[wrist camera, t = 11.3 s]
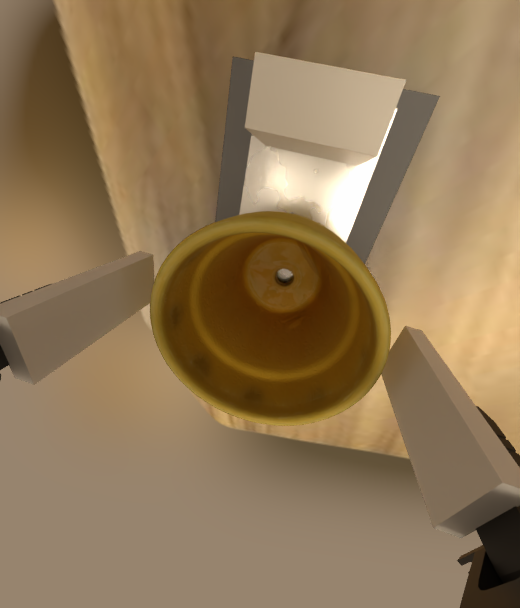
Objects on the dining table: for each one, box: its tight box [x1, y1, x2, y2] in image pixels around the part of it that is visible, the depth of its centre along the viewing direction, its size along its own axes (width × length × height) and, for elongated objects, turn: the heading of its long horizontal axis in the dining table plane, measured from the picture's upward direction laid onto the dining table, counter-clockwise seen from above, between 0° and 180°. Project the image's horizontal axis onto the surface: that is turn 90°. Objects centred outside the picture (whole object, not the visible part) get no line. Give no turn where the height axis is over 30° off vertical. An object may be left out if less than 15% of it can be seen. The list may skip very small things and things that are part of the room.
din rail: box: [239, 108, 398, 283], centre depth 19 cm, size 22×8×1 cm, turn 168°
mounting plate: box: [215, 57, 440, 264], centre depth 20 cm, size 24×12×2 cm, turn 168°
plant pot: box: [150, 211, 391, 426], centre depth 14 cm, size 10×10×10 cm
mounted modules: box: [245, 52, 406, 166], centre depth 16 cm, size 21×6×5 cm, turn 168°
